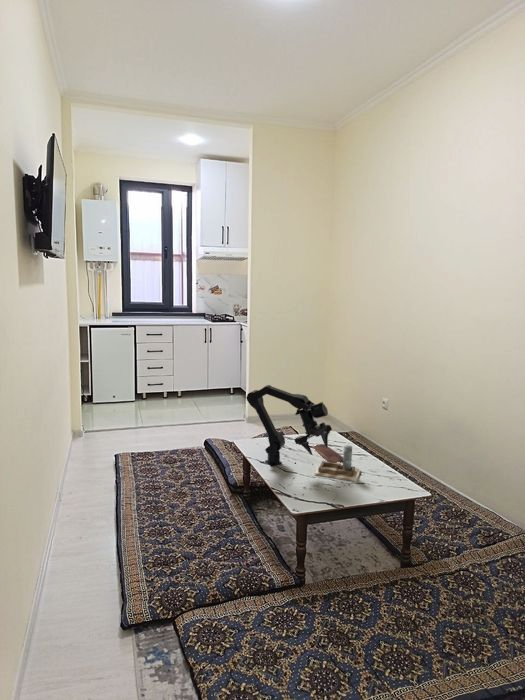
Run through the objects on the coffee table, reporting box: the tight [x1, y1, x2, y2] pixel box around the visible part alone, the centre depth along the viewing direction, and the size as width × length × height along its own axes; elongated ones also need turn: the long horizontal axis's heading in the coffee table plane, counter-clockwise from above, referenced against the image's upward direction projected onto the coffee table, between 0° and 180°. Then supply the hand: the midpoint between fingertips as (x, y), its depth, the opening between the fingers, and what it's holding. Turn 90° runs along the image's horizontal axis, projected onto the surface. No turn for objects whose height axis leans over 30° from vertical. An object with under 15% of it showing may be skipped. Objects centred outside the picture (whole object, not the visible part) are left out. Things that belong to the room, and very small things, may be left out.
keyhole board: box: [314, 460, 362, 483], centre depth 230 cm, size 20×13×3 cm, turn 71°
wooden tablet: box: [312, 443, 343, 464], centre depth 255 cm, size 26×2×10 cm
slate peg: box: [342, 444, 353, 471], centre depth 228 cm, size 4×4×13 cm
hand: (319, 450), depth 230 cm, fingers open, 9 cm apart
